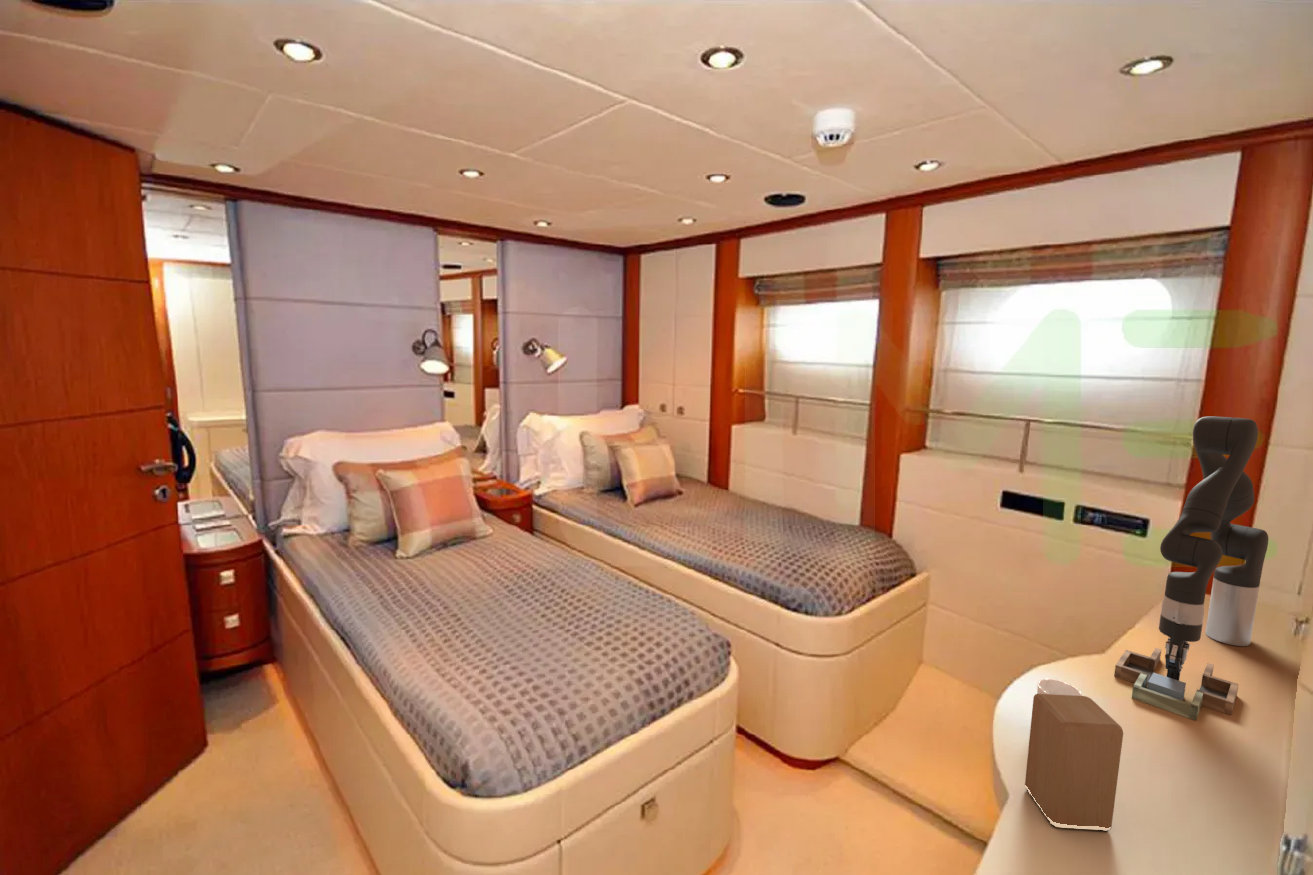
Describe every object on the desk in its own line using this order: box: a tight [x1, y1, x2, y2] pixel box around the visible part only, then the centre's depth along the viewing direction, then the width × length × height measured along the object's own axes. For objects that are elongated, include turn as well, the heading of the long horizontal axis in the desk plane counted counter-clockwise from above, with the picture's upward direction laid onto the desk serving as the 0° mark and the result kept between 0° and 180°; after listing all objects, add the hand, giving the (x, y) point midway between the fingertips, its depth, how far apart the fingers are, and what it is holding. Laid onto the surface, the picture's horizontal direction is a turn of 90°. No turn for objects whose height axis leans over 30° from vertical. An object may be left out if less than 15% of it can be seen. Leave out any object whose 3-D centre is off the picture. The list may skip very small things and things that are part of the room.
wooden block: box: [1024, 693, 1124, 828], centre depth 104 cm, size 10×10×20 cm
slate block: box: [1146, 672, 1187, 701], centre depth 139 cm, size 6×6×4 cm
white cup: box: [1036, 678, 1083, 696], centre depth 126 cm, size 8×8×10 cm
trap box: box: [1113, 647, 1239, 721], centre depth 143 cm, size 27×21×3 cm
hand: (1172, 683), depth 142 cm, fingers closed
